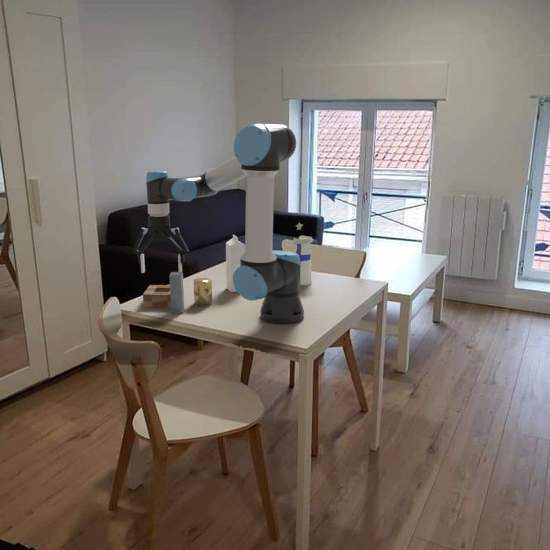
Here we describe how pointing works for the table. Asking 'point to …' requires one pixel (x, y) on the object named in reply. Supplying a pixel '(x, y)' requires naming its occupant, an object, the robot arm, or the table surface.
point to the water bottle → (304, 257)
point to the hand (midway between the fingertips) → (161, 272)
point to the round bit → (202, 292)
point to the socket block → (157, 297)
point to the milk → (233, 260)
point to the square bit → (176, 292)
